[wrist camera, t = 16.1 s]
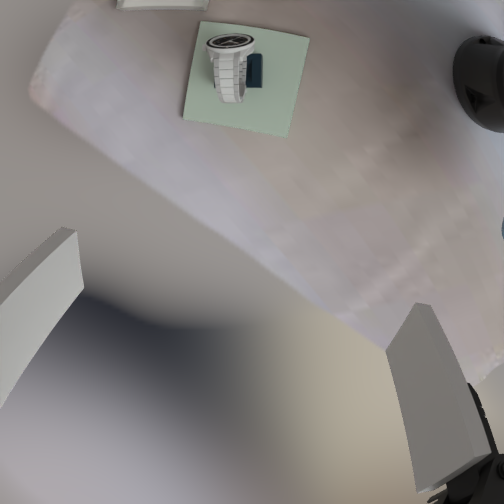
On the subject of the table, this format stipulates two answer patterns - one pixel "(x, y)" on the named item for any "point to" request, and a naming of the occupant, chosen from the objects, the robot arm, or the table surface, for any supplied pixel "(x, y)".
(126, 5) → the dock
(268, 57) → the mat
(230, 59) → the watch
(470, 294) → the table surface
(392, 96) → the table surface
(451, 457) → the robot arm
